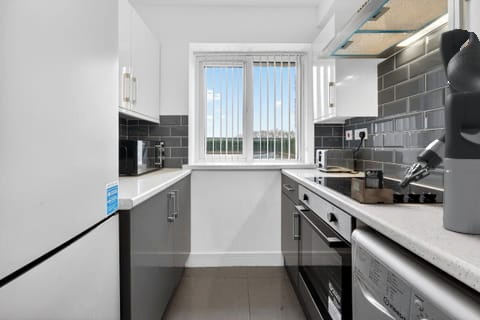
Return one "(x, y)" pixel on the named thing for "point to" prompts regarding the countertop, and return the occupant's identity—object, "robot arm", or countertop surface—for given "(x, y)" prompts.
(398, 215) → the countertop surface
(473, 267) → the countertop surface
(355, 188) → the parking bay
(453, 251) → the countertop surface
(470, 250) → the countertop surface
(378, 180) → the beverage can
